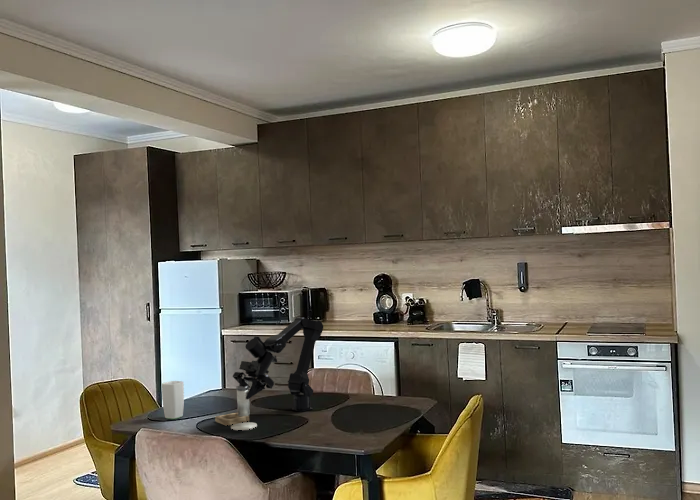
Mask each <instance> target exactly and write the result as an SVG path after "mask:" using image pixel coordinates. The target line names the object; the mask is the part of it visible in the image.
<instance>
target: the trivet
mask: <svg viewBox="0 0 700 500" xmlns="http://www.w3.org/2000/svg"><path fill="white" fill-rule="evenodd" d="M255 427H256V428H257V427H258V424H257V423H256V422H250V421H248V422H243V423H237V424H233V425H230V429H231V430H232V429H233V430H232V431H238V430H242V431H250V430H253V428H254V429H256V428H255ZM249 429H250V430H249Z"/></svg>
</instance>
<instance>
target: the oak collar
mask: <svg viewBox="0 0 700 500" xmlns="http://www.w3.org/2000/svg"><path fill="white" fill-rule="evenodd" d="M214 417H215V422H216V423H218V424H221V425H224V426H226V427H228V426H232V424H233V425H234V424H237V423H242V422H243V423H244V422H247V421H248V422H250V415H248V416H238V411H237V412H233V413H232V412H231V413H228V414H222V415H215V416H214ZM227 425H228V426H227Z"/></svg>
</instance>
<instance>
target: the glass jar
mask: <svg viewBox="0 0 700 500" xmlns="http://www.w3.org/2000/svg"><path fill="white" fill-rule="evenodd" d="M248 385H249V384H248ZM248 385H241V386H239V385H237V386H236V401H237V412H238V416H250V415H251V413H250V412H251V411H250V408H251V407H250V406H251V405H250V398H249V399H246V396H247V394H248V392H249V390H250V388H249V386H250V385H249V386H248Z"/></svg>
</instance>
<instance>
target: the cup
mask: <svg viewBox="0 0 700 500" xmlns="http://www.w3.org/2000/svg"><path fill="white" fill-rule="evenodd" d="M184 385H185V384H184V381H182V380H181V381H179V380H170V381H166V382H163V383H161V398H162V399H161V401H162V407H163V412H164V418H165V419H167V420H177V419H180V418H182V417H183V415H184V404H185V403H184V402H185V395H184V394H185V392H184V391H185V390H184V389H185V388H184Z"/></svg>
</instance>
